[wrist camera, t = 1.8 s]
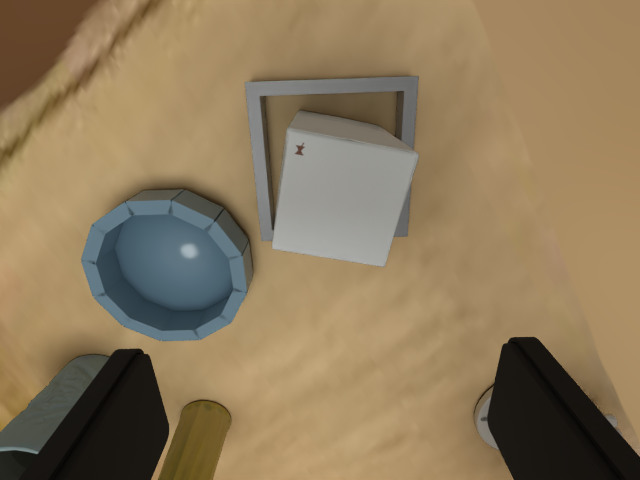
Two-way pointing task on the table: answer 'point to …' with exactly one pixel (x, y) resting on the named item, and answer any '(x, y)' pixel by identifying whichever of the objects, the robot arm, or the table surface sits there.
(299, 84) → the gray square frame
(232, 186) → the table surface
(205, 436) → the vase
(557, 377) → the robot arm
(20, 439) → the blue-grey cup
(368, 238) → the supplement box
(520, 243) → the table surface
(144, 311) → the bowl
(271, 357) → the table surface
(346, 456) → the table surface
